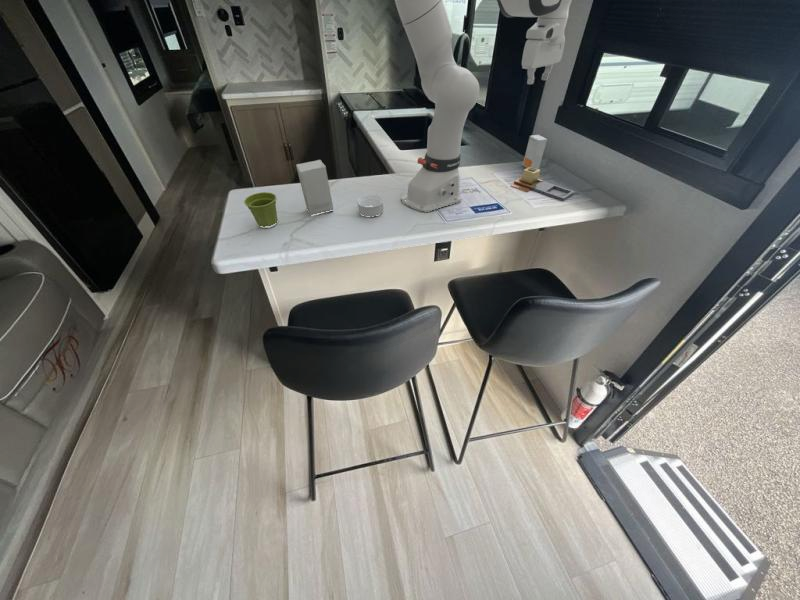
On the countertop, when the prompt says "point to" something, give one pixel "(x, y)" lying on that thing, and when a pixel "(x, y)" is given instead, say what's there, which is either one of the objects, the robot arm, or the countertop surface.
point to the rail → (542, 188)
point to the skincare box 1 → (315, 186)
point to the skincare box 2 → (534, 151)
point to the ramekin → (370, 200)
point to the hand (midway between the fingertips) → (537, 81)
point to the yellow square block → (530, 176)
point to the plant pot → (263, 208)
